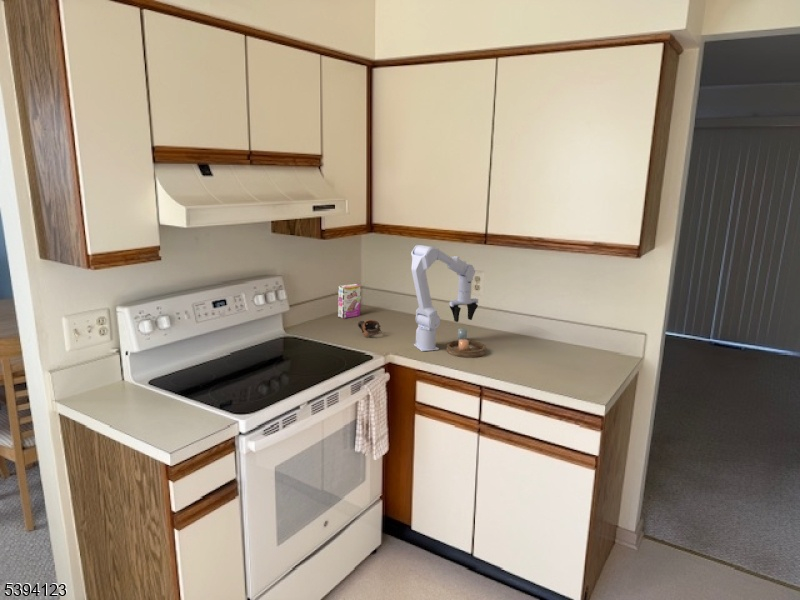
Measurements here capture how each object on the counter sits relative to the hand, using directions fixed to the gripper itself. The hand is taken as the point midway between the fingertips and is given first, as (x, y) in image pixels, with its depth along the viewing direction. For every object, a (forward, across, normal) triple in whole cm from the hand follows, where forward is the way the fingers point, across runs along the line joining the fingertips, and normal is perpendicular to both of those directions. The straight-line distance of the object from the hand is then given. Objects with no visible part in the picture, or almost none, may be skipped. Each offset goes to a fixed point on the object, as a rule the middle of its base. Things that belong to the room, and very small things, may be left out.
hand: (463, 320), depth 243 cm
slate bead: (+9, 0, 0) cm, 9 cm away
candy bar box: (+9, +27, -60) cm, 66 cm away
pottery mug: (+9, +33, -26) cm, 43 cm away
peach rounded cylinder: (+8, +12, +16) cm, 22 cm away
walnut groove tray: (+9, +8, +14) cm, 19 cm away
